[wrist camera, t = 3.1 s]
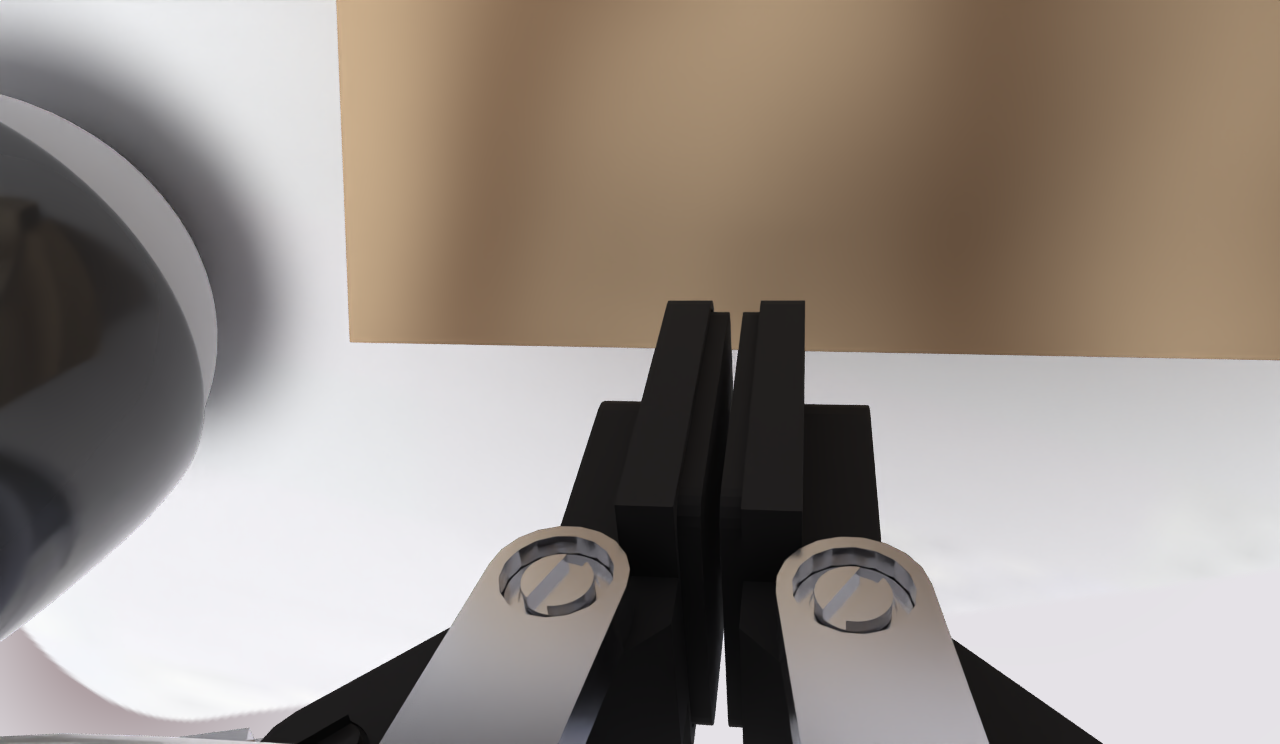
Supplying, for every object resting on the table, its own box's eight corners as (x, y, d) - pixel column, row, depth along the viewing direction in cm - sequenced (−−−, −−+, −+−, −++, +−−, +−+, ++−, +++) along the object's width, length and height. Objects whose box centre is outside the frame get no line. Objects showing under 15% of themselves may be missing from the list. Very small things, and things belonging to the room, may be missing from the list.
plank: (1912, -237, 13) (2016, -284, 12) (1818, 360, 14) (1906, 372, 13) (364, -127, 17) (330, -154, 16) (380, 335, 18) (350, 342, 17)
